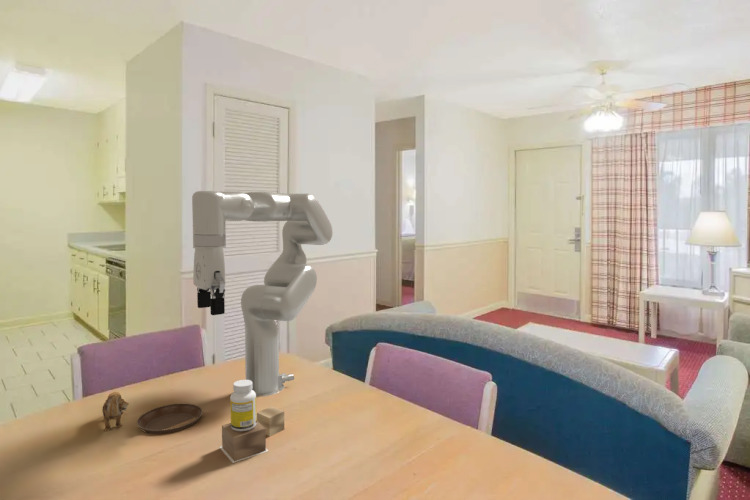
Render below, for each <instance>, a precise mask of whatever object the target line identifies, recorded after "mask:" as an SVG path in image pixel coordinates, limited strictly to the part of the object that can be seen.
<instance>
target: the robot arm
mask: <svg viewBox="0 0 750 500" xmlns="http://www.w3.org/2000/svg"><path fill="white" fill-rule="evenodd" d="M191 200H192V203H191V205H192V206H191V207H192V243H193V244H192V248H193V249H194V256H193V279H192V280H193V285H194V286H195V287H196V291H197V292H196V294H197V295H196V297H197V298H196V299H197V308H198V309H204V308H205V309H206V308H210V315H211V316H217V315H224V314H225V313H226V312H225V307H226V306H225V302H226V301H225V297H226V295H225V294H226V293H225V292H226V289H225V287H226V265H225V255H224V249H225V248H227V246H226V245H227V244H226V243H227V242H226V240H227V239H226V238H227V237H226V230H227V229H226V221H229V222H240V221H247V222H257V223H258V222H264V223H266V222H285V223H284V224H283V226H282V230H281V231H282V232H281V234H282V252H281V253H280V254H279V256H278V257H277V259H276V260H275V261H274V263H273V264H272V265H271V266H270V267H269V268H268V270H266V271H267V272H266V273H265V274H264V277H263V278H264V279H263V283H264V284H255V285H251V286H248V287H247V288H245V290H244V291H243V292H242V294H241V298H240V306H241V311H242V312H241V313H242V317H243V320H244V321H243V323H244V334H245V335H244V340H245V341H244V345H245V346H244V351H245V353H244V354H245V355H244V357H245V367H244V370H245V380H251V381H252V386H253V387H252V390H253V391H254V392H255V393H256V398H257V397H258V398H259V397H268V396H273V395H276V394H278V393H281V392H282V391H283V390H284V388H285V385H284V384H285V382H291V381H294V380H295V375H294V374H293V373H289V374H286V372H282V373H280V349H279V348H280V345H279V344H280V342H279V341H280V335H279V334H280V333H279V328H278V325H277V323H276V321H281V322H290V321H293V320H294V319H296V318H297V317H298V315H299V314H300V313H301V311H302V310H303V309H304V307H305V306H306V304H307V303H308V301H309V300H310V298H311V297H312V295H313V293H314V292H315V290H316V286H317V281H318V275H317V272H316V270H315V268H314V267H313V266H311V265H310V264H307V261H308V260H307V256H306V253H305V251H304V250H303V248H302V245H308V246H309V245H312V246H313V245H314V246H324V245H326V244H327V245H328V243H330V242H331V240H332V238H333V227H332V223H331V221H330V219H329V218H328V215H327V214H326V212H325V210H324V209H323V207H322V205H321V203H320V202H319V201H318V200H317V198H316V197H315V196H314V195H312V194H311V193H285V192H283V193H282V192H269V191H252V192H243V191H218V190H217V191H215V190H213V191H212V190H199V191H195V192H193V193H192V198H191Z"/></svg>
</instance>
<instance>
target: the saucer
mask: <svg viewBox="0 0 750 500" xmlns="http://www.w3.org/2000/svg"><path fill="white" fill-rule="evenodd" d="M202 415H203V409H202V408H201V407H200V406H198V405H196V404H193V403H171V404H166V405H161V406H158V407H155V408H152V409H150V410H148V411H146V412H144V413H142V414H141V415H140V416H138V418H137V419H136V425H137V426H138V427H139V429H140V430H141V431H143V432H144V433H146V434H169V433H174V432H178V431H181V430H184V429H187V428H189V427H191V426H193V425H194V424H195V423H197V422H198V421H199V420H200V418H201V417H202ZM195 418H196V419H195ZM193 419H194V420H193ZM191 420H192V421H191ZM188 421H190V422H189V423H186V424H184V425H180V424H183V423H185V422H188ZM178 425H180V426H178ZM174 426H177V427H174ZM172 427H173V428H172Z"/></svg>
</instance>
